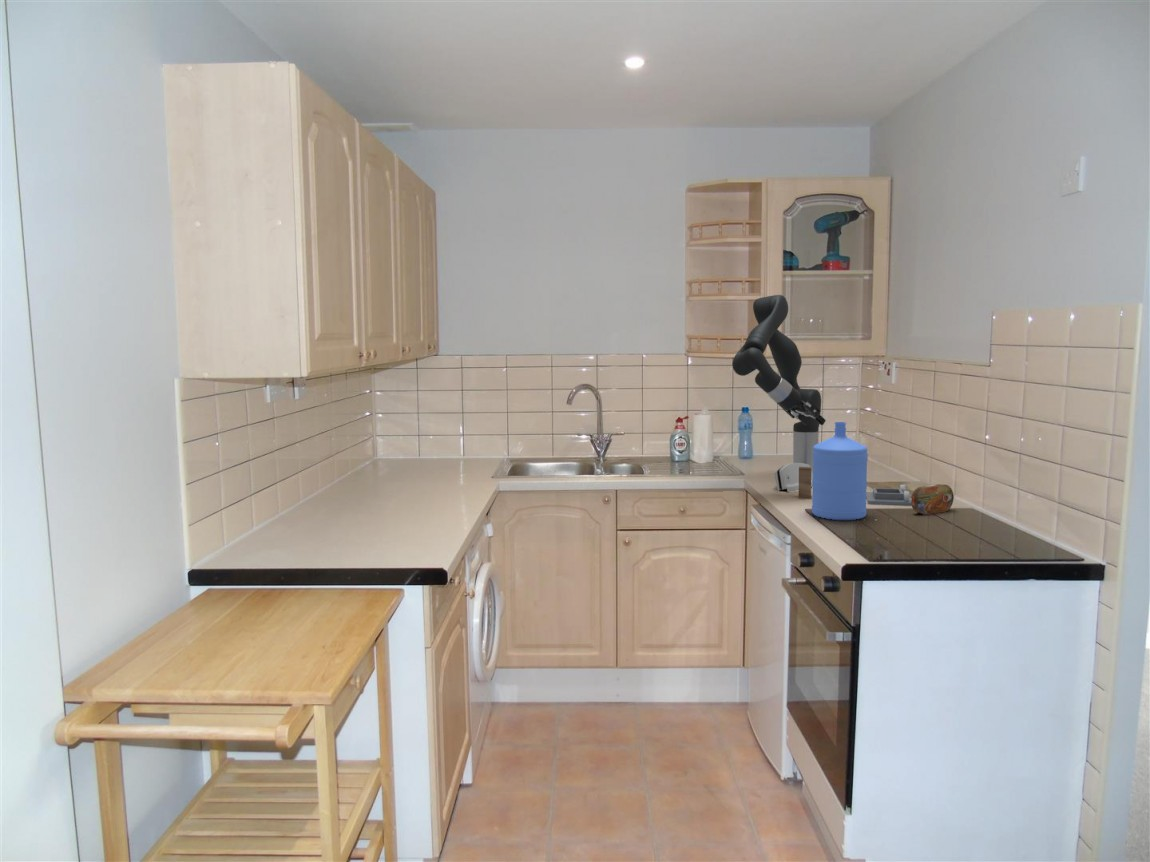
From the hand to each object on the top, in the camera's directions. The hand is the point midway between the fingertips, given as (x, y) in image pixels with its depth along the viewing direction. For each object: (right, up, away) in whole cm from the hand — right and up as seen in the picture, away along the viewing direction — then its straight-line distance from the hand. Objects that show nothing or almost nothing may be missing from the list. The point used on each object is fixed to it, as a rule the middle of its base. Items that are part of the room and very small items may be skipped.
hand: (815, 423), depth 270 cm
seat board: (+21, -25, -8) cm, 34 cm away
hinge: (-3, -23, +15) cm, 28 cm away
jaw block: (-4, -25, -1) cm, 25 cm away
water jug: (-1, -28, -28) cm, 40 cm away
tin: (+27, -27, -27) cm, 47 cm away
